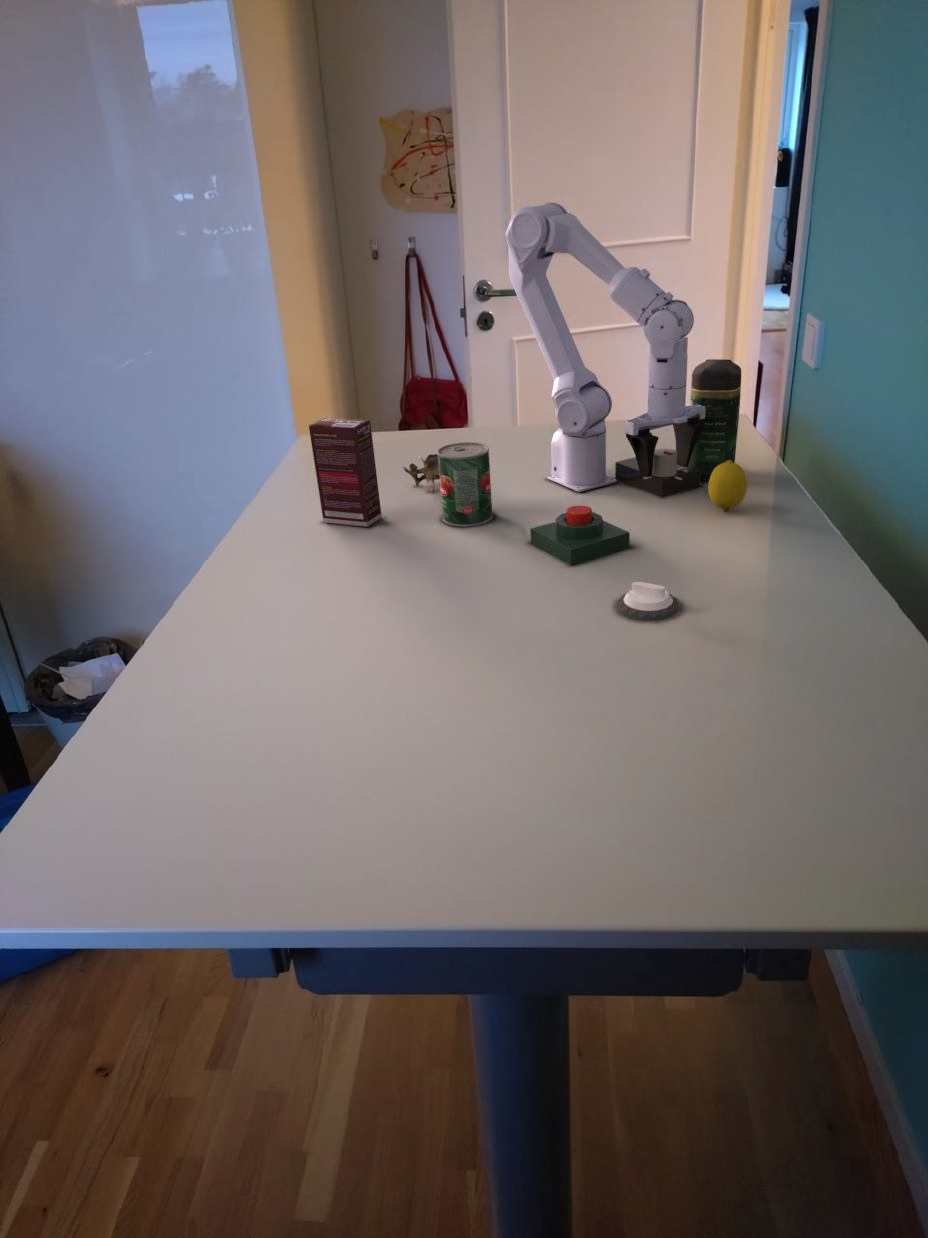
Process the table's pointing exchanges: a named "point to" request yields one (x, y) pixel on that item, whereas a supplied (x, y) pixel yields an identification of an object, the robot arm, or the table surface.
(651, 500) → the table surface
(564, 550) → the control block
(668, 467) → the dial
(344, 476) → the supplement box
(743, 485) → the lemon
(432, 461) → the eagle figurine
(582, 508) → the button
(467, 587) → the table surface
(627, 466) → the rotary knob box
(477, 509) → the canned tomato
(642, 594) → the stove knob
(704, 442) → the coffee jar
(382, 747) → the table surface
